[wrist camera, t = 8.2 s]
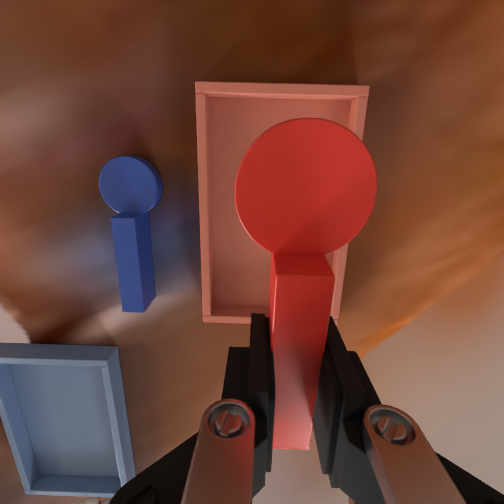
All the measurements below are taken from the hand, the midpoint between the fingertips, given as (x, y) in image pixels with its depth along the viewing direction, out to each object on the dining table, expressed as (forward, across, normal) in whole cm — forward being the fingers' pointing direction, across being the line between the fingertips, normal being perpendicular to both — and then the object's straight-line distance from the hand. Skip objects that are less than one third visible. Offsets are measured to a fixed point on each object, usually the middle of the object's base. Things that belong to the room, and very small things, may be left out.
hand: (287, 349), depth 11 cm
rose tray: (+12, 0, -3) cm, 12 cm away
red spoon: (0, 0, -2) cm, 2 cm away
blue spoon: (+12, +10, -1) cm, 16 cm away
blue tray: (+12, +18, +17) cm, 28 cm away
